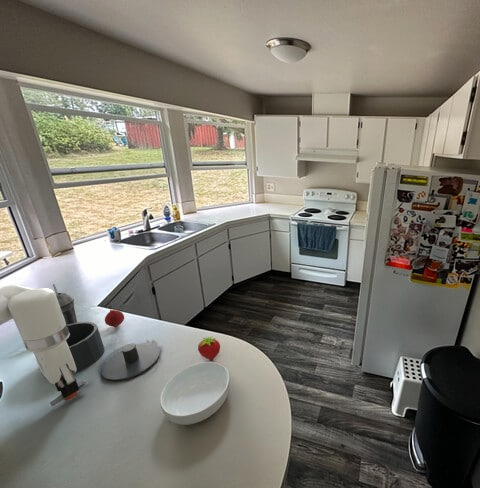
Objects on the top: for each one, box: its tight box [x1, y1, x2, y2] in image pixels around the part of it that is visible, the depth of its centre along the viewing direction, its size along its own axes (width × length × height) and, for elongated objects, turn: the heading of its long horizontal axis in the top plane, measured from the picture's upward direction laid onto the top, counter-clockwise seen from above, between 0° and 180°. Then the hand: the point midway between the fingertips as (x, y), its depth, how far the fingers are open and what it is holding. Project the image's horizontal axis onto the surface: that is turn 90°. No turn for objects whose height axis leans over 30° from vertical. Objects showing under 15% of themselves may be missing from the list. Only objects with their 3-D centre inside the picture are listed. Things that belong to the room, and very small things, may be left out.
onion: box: [104, 308, 125, 328], centre depth 98 cm, size 6×6×8 cm
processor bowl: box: [66, 321, 105, 375], centre depth 81 cm, size 15×15×10 cm
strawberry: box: [197, 335, 221, 361], centre depth 83 cm, size 6×8×10 cm
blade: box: [49, 378, 90, 407], centre depth 68 cm, size 8×3×8 cm, turn 151°
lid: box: [100, 342, 161, 382], centre depth 82 cm, size 16×16×6 cm
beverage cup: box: [52, 283, 78, 325], centre depth 93 cm, size 7×7×20 cm
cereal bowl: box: [159, 361, 231, 426], centre depth 69 cm, size 17×17×7 cm
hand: (68, 390), depth 69 cm, fingers closed on blade, 2 cm apart
